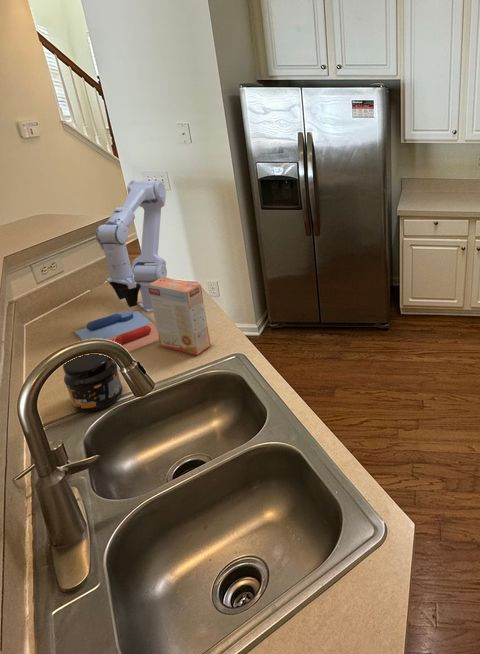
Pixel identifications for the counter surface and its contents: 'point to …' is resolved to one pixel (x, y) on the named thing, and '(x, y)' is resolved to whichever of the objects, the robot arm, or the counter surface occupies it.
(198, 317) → the cracker box
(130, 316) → the blue spoon
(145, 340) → the sorting mat
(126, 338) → the red spoon
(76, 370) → the supplement container
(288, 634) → the counter surface
